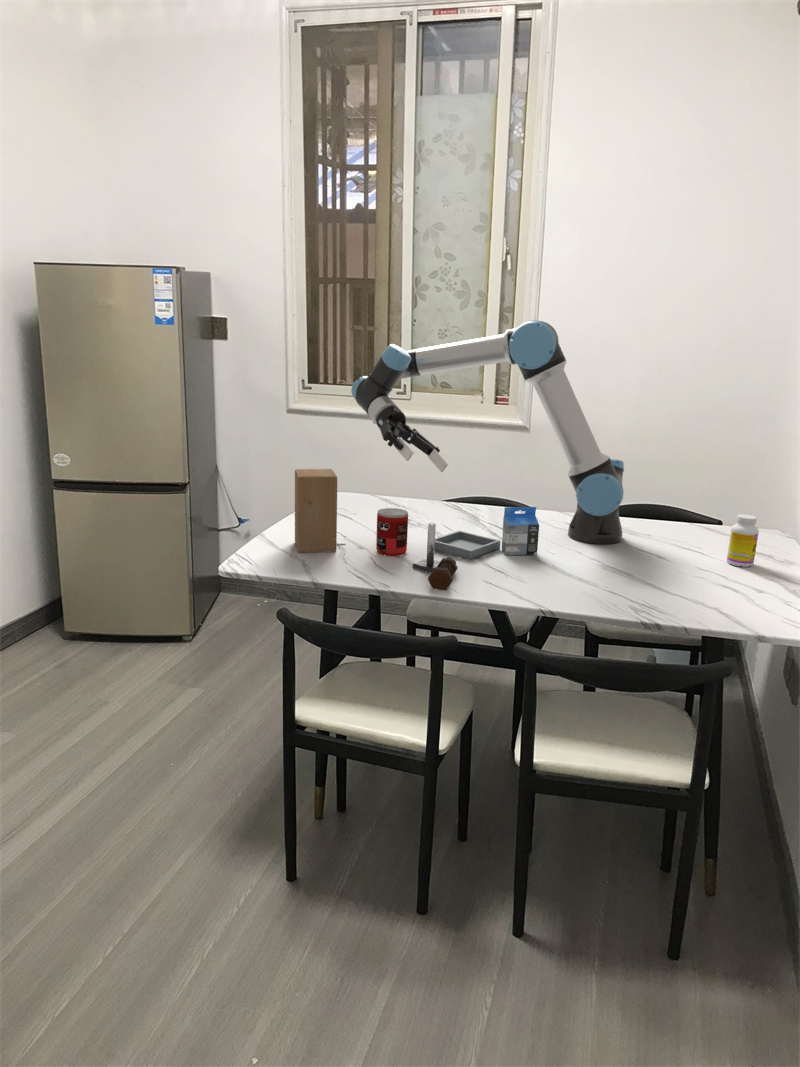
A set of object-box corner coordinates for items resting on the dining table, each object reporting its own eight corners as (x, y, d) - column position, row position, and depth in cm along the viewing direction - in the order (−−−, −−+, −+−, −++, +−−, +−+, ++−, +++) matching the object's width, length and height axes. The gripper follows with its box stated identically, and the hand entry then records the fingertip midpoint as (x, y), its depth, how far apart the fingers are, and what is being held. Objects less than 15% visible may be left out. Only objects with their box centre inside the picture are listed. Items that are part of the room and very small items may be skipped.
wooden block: (297, 553, 202) (297, 476, 197) (294, 542, 212) (294, 468, 206) (336, 552, 204) (337, 476, 199) (331, 541, 214) (332, 468, 208)
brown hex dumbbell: (452, 577, 194) (442, 596, 180) (435, 566, 194) (423, 583, 180) (464, 559, 192) (455, 576, 178) (447, 547, 193) (437, 563, 178)
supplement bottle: (753, 569, 203) (761, 521, 200) (726, 565, 206) (733, 517, 202) (752, 562, 209) (760, 515, 206) (725, 558, 212) (732, 512, 208)
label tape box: (504, 556, 207) (508, 510, 203) (500, 551, 211) (504, 506, 207) (537, 555, 208) (541, 510, 205) (532, 551, 212) (536, 506, 209)
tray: (499, 549, 212) (500, 540, 211) (470, 560, 201) (471, 551, 201) (458, 539, 220) (459, 530, 219) (428, 549, 210) (429, 540, 209)
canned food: (374, 548, 209) (376, 507, 206) (404, 548, 210) (406, 508, 207) (377, 556, 202) (378, 515, 199) (408, 556, 203) (410, 515, 200)
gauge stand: (446, 568, 195) (449, 524, 192) (432, 573, 191) (434, 528, 188) (427, 562, 199) (429, 519, 196) (412, 567, 194) (414, 523, 191)
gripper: (410, 438, 225) (450, 483, 212) (347, 415, 206) (386, 463, 194) (425, 417, 222) (466, 461, 209) (362, 392, 204) (403, 439, 191)
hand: (427, 462), depth 202 cm, fingers open, 13 cm apart
